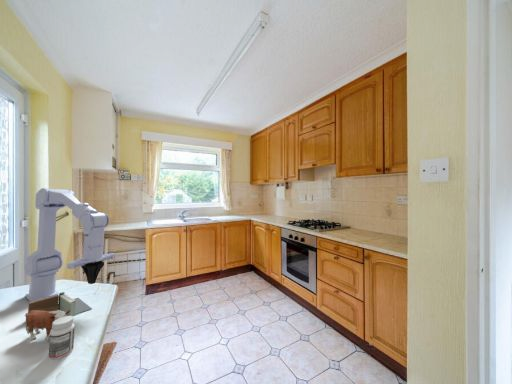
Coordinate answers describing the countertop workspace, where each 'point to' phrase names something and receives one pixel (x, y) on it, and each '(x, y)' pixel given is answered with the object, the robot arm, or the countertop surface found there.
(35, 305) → the fence section
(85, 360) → the countertop surface
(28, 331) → the bull figurine
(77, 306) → the board
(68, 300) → the fence gate
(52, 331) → the pill bottle
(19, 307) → the countertop surface
